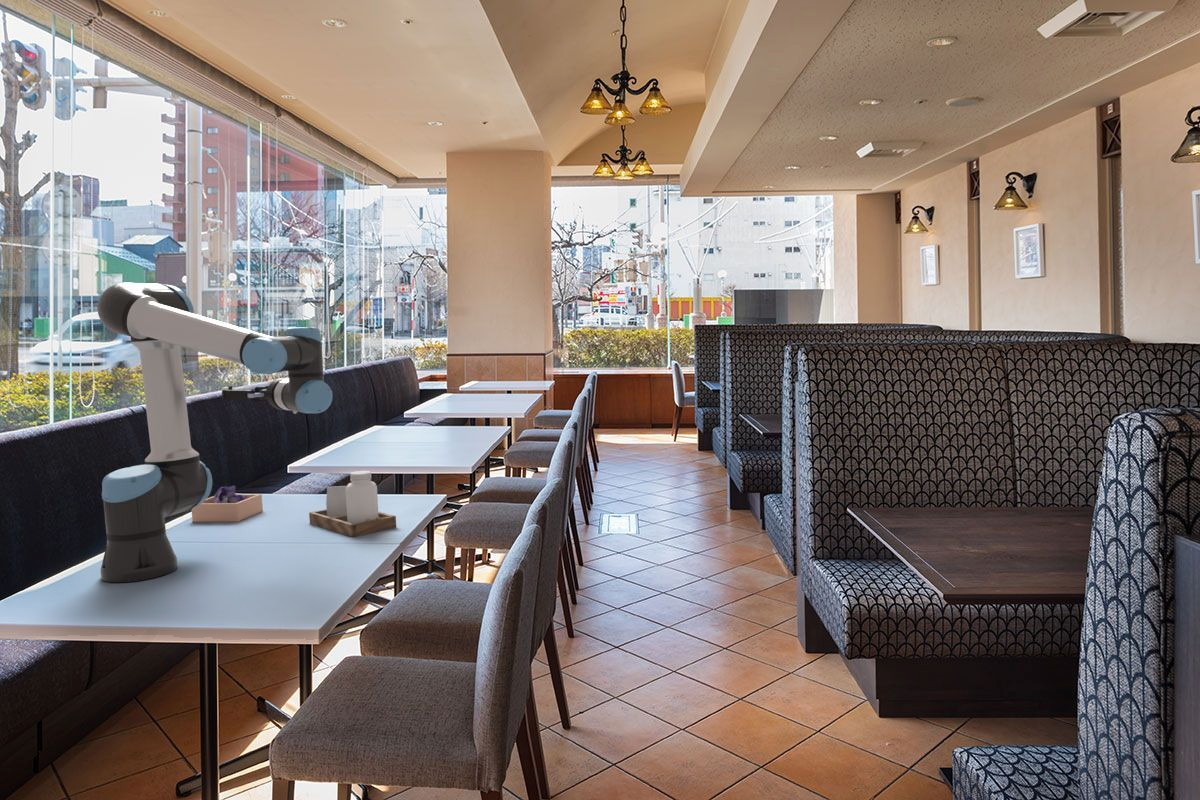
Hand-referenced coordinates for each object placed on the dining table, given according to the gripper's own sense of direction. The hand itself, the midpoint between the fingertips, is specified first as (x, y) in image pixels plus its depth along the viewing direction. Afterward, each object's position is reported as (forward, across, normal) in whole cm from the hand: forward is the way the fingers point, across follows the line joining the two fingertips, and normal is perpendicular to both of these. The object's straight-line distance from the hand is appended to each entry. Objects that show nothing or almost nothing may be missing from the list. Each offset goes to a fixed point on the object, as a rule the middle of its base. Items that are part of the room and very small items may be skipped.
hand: (251, 390), depth 216 cm
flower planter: (+34, +5, -38) cm, 52 cm away
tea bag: (-1, +22, -38) cm, 44 cm away
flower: (+36, +5, -39) cm, 53 cm away
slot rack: (-7, +22, -38) cm, 44 cm away
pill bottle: (-13, +22, -38) cm, 46 cm away
